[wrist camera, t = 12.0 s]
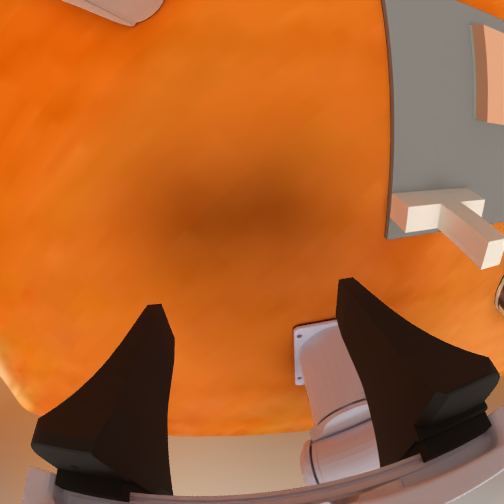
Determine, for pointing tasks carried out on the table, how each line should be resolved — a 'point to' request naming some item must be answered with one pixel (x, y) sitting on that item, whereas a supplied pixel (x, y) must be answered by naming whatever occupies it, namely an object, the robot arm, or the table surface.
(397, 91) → the mat
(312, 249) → the table surface
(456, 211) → the beige t-shaped block
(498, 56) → the tile
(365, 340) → the robot arm
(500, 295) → the coffee can
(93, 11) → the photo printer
